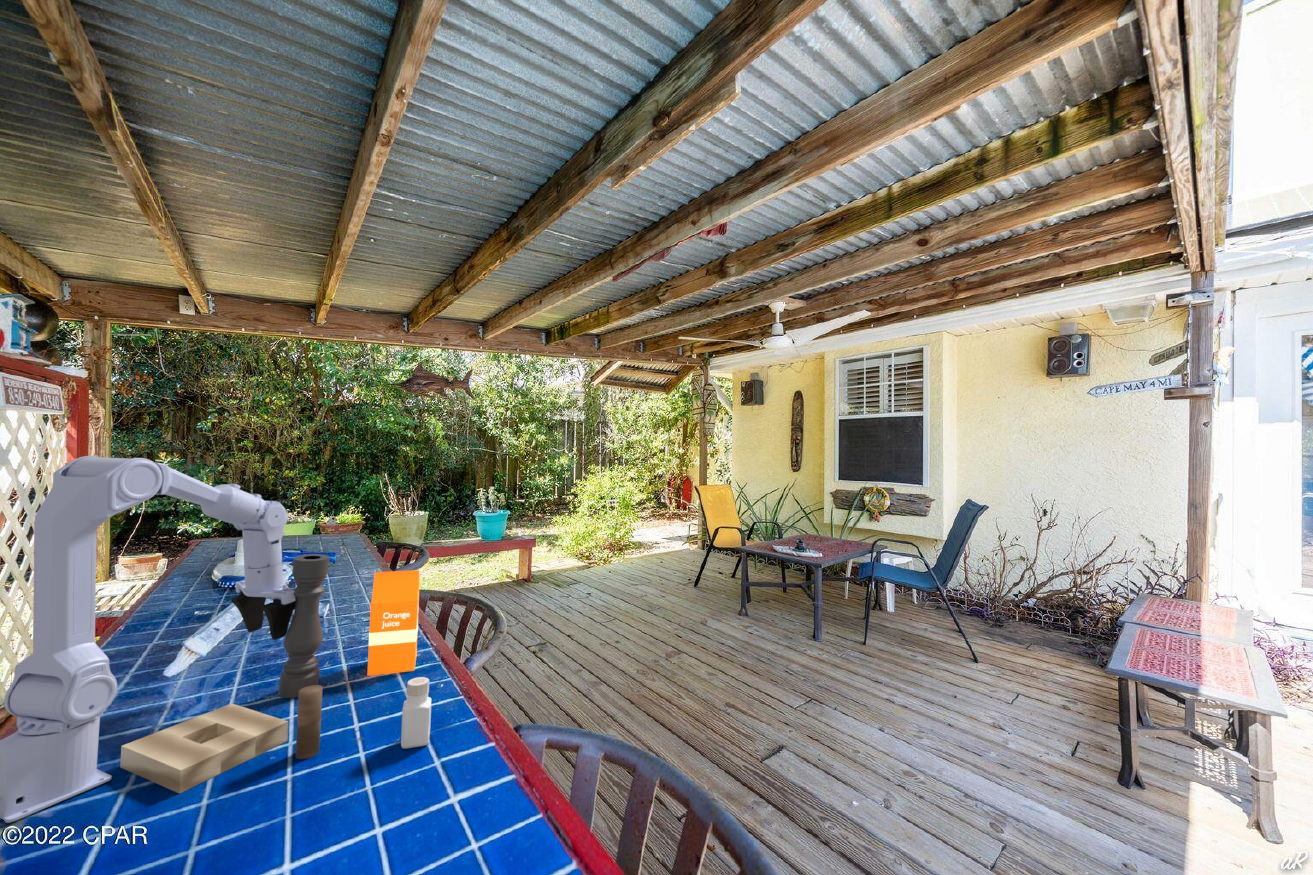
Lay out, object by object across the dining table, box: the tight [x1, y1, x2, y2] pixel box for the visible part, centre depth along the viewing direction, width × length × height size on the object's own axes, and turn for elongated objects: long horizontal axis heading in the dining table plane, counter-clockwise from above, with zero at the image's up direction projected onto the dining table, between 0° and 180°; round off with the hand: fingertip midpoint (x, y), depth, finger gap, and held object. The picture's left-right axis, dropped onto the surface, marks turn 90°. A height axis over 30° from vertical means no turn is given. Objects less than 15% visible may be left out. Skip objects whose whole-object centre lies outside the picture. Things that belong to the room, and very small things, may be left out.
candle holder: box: [278, 553, 330, 699], centre depth 99 cm, size 6×6×25 cm
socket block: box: [119, 702, 289, 794], centre depth 79 cm, size 14×14×3 cm
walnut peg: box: [295, 684, 324, 760], centre depth 80 cm, size 3×3×10 cm
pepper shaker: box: [400, 676, 432, 749], centre depth 84 cm, size 4×4×10 cm
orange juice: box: [366, 569, 420, 677], centre depth 112 cm, size 8×9×20 cm
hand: (266, 633), depth 100 cm, fingers open, 7 cm apart
